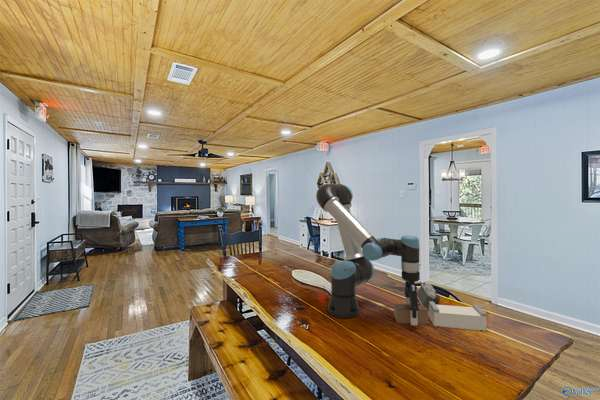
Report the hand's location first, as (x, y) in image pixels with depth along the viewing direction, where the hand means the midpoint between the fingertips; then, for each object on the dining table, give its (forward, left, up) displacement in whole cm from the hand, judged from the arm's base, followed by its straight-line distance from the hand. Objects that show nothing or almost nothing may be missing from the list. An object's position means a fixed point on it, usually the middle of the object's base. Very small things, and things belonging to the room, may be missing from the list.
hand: (411, 317), depth 120 cm
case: (0, 0, -2) cm, 2 cm away
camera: (+12, +21, -2) cm, 24 cm away
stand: (+19, +1, -1) cm, 19 cm away
